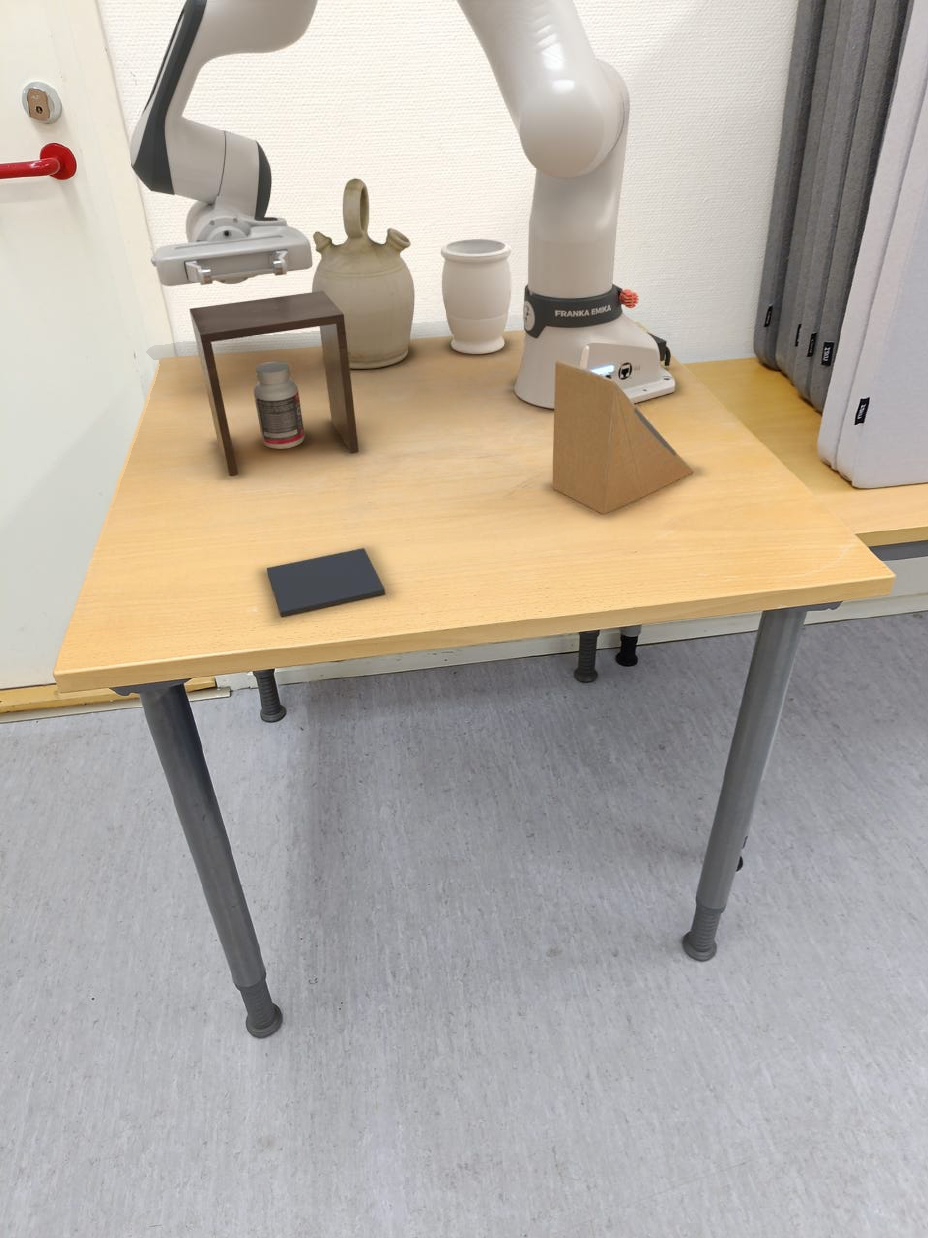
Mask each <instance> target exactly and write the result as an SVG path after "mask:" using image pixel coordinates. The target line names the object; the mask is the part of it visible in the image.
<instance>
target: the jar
mask: <svg viewBox="0 0 928 1238" xmlns="http://www.w3.org/2000/svg"><path fill="white" fill-rule="evenodd" d="M511 253H512V244H510V243H509V242H506V241H503V240H498V239H489V238H470V239H469V238H468V239H459V240H454V241H450V242H447V243H445V244H443V245H442V246H441V247H440V255H441V257H442V258H443V259H444V262H443V266H442V273H441V274H442V275H441V293H442V301H443V306H444V310H445V317H446V322H447V326H448V327H449V330H450V332H451V334H452V336H453V338H452V339H451V342H450V346H451V348H452V349H453V350H454V351H456V352H459V353H463V354H468V355H485V354H491V353H495V352H498V351H500V350H501V349H503V348H504V346H505V340H504V338H503V337H502V335H503V333H504V332H505V331H504V330H505V328H506V326H507V322H508V317H509V316H508V315H509V309H510V305H511V298H512V275H511V267H510V263H509V259H508V258H509V256H511Z"/></svg>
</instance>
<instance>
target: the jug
mask: <svg viewBox="0 0 928 1238" xmlns="http://www.w3.org/2000/svg"><path fill="white" fill-rule="evenodd" d="M342 220H343V228H344V231H345V234H346V236H347V238H346V239H345V240H344V242H343V243H339V244H334V243H333V238H331V237H330V236H326V235H325V234H323V233H322V232H320V231H315V232H314V233H313V235H312V238H313V242H314V244H315V251H316V252H317V253H319V254H320V260H319V262H318V264H317V266H316V269H315V271H314V274H313V277H312V284H311V292H318V291H324V293H325V294H326V295H327V296H328V297H329V298H330V299H331V300H332V302H333V303H334V304H335V305H336V306H337V307H338V308H339V309H340V311H341V312H342V313H343V314H344V321H345V322H344V323H345V330H346V339H347V348H348V357H349V367H350V369H352V370H354V369H355V370H363V369H364V370H367V369H369V370H371V369H380V368H383V367H389V366H393V365H395V364H398V363H400V362H401V361H403V360H404V359H405V358H406V357H407V356H408V353H409V346H410V341H411V332H412V326H413V320H414V312H415V285H414V279H413V276H412V273H411V271H410V269H409V267H408V265H407V263H406V262H405V260H404V259H403V257H402V256H401V253H402V252H403V251H405V250H406V249H407V248H409V247H411V245H412V243H411V241H410V239H409V238H408V237H407V236H406V235H405V234H403V233H402V232H401V231H399V230H397V229H396V228H392V227H390V228H387V230H386V237H385V242H383V243H381V242H377V241H375V240H373V239H372V238H371V237H370V235H369V231H368V230H369V226H370V225H369V224H370V197H369V191H368V186H367V184H366V182H364V181H363V180H362V179H361V178H355V177H354V178H352V179H349V180H348V181H347V182H346V183H345V186H344V190H343V194H342ZM318 327H319V328H320V326H318Z"/></svg>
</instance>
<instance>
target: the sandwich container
mask: <svg viewBox="0 0 928 1238" xmlns="http://www.w3.org/2000/svg"><path fill="white" fill-rule="evenodd" d="M552 438H553V439H552V440H553V441H552V443H553V444H552V489H554V490H555V491H557V492H559V493H561V494H563V495H565V496H566V497H569V498H571V499H572V500H575V501H577V502H578V503H580V504H582V505H584V506H586V507H588V508H589V509H592V510H594V511H596V512H598V513H600V514H602V515H605V514H608V513H610V512H613V511H615V510H617V509H619V508H621V507H624V506H626V505H628V504H631V503H632V502H636V501H638V500H639V499H642V498H644V497H647V496H649V495H650V494H652V493H655V492H656V491H659V490H660V489H662V488H664V487H666V486H668V485H670V484H672V483H675V482H676V481H679V480H680V479H683V478H685V477H687V476H688V475H691V474H693V473H695V471H694V470H693V469H692V467H691V466H690V465H688V463H687V462H686V461H685V460H684V459H683V457H681V455H680V454H678V453H677V451H676V450H675V449H674V448H673V447H672V445H670V443H668V441H667V440H666V439H665V438H664V437H663V436H662V434H661V433H660V432H659V431H658V430H657V429H656V428H655V426H654V425H653V424H652V423H651V422H650V421H649V420H648V419H647V418H646V417H645V416H644V414H643V413H642V412H641V411H640V410H639V408H638V407H637V406H636V405H635V403H634V404H633V402H632V401H631V400H630V399H629V398H628V396H627V395H626V394H625V393H624V392H623V390H622V389H621V388H620V387H619V386H618V384H617V383H616V382H615V381H613V380H612V379H609V378H607V377H605V376H602V375H600V374H597V373H595V372H593V371H590V370H588V369H585V368H582V367H579V366H575V365H572V364H569V363H566V362H563V361H559V360H558V361H557V362H556V364H555V399H554V409H553V436H552Z"/></svg>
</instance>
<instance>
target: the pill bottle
mask: <svg viewBox="0 0 928 1238" xmlns="http://www.w3.org/2000/svg"><path fill="white" fill-rule="evenodd" d="M255 372H256V380H257V381H258V383H257V384H255V386H254V389H253V397H254V403H255V408H256V412H257V417H258V423H259V429H260V435H261V439H262V443H263V445H265V446H266V447H268V448H271V449H275V450H286V449H290V448H294V447H296V446H299V445H301V443H303V442H304V440H305V436H306V435H305V427H304V422H303V415H302V408H301V401H300V394H299V388H298V385H297V383H296V382H295V381H293V380H292V379H290V378H291V370H290V365H289V364H288V363H287V362H284V361H267V362H264V363H261V364H259V365H257V366H256V368H255Z"/></svg>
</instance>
